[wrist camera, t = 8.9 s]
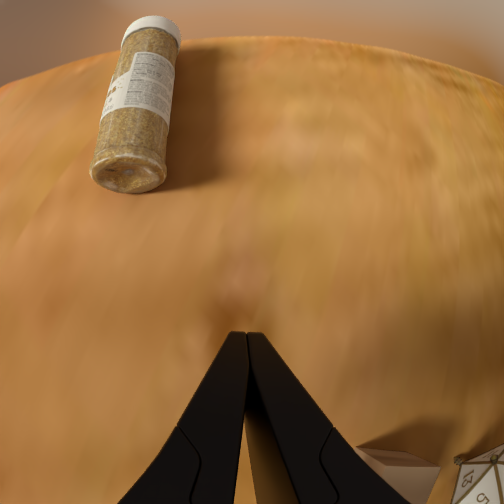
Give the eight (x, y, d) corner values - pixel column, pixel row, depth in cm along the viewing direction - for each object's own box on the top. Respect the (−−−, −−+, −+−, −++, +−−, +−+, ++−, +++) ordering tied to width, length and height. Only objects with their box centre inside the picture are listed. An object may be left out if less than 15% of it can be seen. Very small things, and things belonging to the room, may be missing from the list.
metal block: (384, 502, 15) (414, 525, 11) (332, 500, 15) (357, 529, 11) (405, 451, 16) (441, 466, 12) (354, 446, 16) (386, 465, 12)
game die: (441, 448, 20) (537, 385, 14) (481, 505, 15) (576, 455, 9) (389, 518, 14) (522, 465, 8) (439, 578, 9) (562, 541, 4)
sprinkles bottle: (86, 192, 17) (119, 50, 21) (156, 200, 19) (170, 60, 23) (91, 150, 13) (133, 8, 17) (179, 163, 16) (190, 21, 19)
